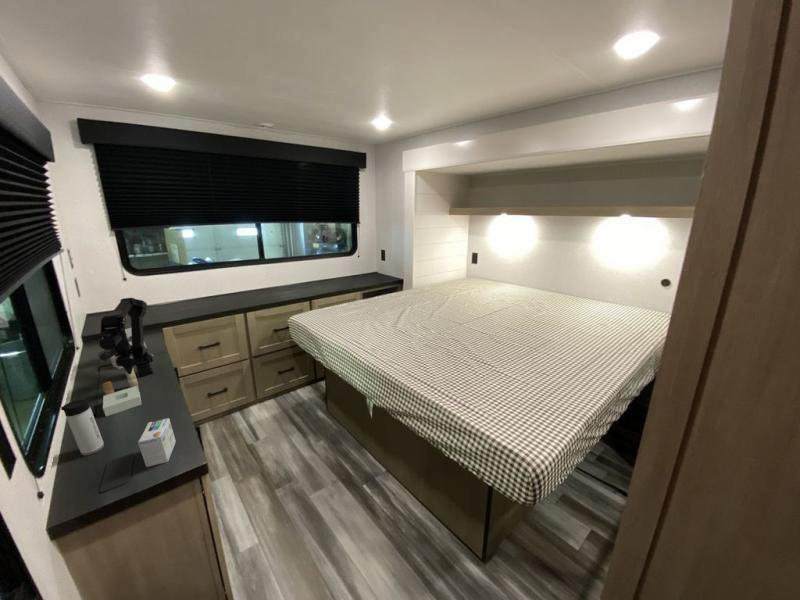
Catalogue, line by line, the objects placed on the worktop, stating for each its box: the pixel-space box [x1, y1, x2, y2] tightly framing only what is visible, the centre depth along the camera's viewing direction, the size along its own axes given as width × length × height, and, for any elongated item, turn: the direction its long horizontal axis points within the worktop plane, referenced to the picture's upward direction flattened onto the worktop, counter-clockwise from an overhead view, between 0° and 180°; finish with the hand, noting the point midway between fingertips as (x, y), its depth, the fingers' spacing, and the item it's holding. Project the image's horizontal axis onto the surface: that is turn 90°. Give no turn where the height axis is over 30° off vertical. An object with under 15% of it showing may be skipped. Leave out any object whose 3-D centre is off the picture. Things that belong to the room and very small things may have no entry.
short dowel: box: [101, 381, 115, 395], centre depth 150 cm, size 3×3×6 cm
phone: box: [99, 453, 135, 494], centre depth 108 cm, size 7×1×15 cm
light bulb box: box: [137, 417, 177, 468], centre depth 113 cm, size 11×7×11 cm, turn 21°
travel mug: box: [60, 399, 105, 456], centre depth 115 cm, size 6×7×20 cm
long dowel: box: [124, 368, 140, 388], centre depth 155 cm, size 3×3×10 cm
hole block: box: [102, 386, 142, 417], centre depth 143 cm, size 12×12×4 cm
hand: (129, 370), depth 154 cm, fingers open, 9 cm apart
